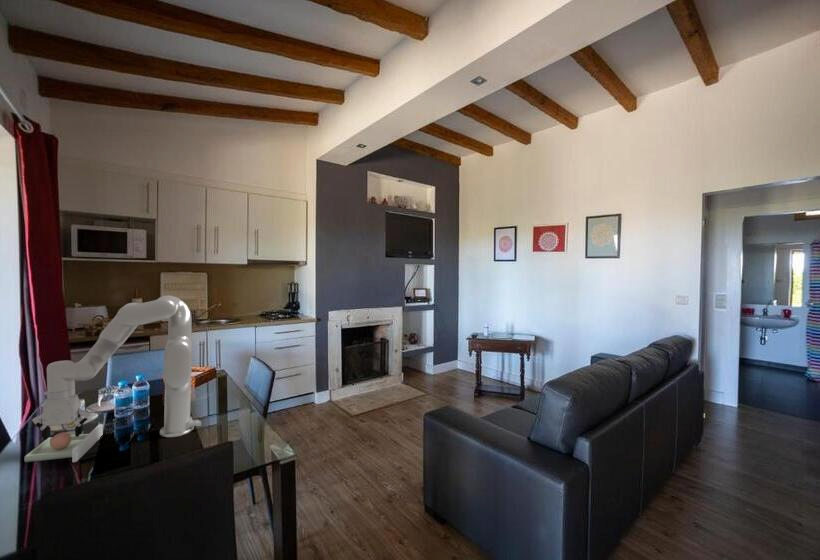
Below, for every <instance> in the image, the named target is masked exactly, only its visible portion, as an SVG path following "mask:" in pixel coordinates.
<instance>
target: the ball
mask: <svg viewBox="0 0 820 560" xmlns="http://www.w3.org/2000/svg"><path fill="white" fill-rule="evenodd" d="M66 432H67V431H64V432H59V433H56V434H55V435H53V436H52V439H51V441H50V446H51V447H52V448H54V449H62V448H65V447H66V446H68V445H69V444H70V442H71V440H72V437H71V435H70V434H69V433H66Z"/></svg>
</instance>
